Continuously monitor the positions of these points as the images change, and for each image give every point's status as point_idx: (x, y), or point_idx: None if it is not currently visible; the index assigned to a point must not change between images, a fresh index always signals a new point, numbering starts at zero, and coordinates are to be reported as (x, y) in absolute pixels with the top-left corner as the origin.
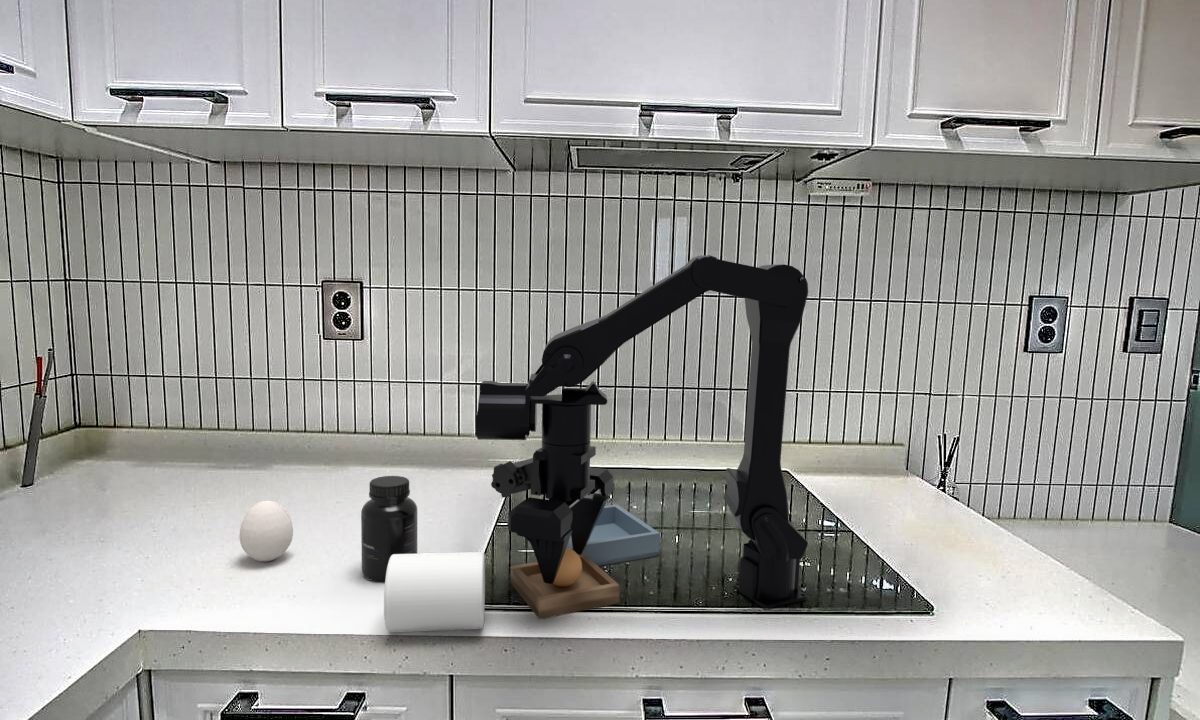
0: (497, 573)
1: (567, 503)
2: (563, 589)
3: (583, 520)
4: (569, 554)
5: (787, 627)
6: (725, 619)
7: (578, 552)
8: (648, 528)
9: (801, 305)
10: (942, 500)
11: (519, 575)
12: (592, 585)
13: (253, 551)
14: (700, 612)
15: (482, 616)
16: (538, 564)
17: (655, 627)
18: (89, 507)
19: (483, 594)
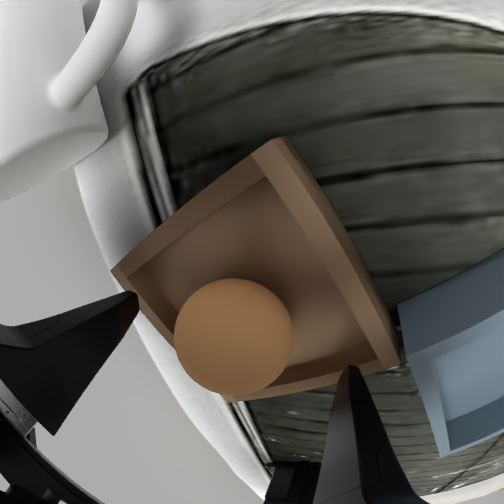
0: (353, 75)
1: (66, 502)
2: None
3: (332, 480)
4: (198, 383)
5: (236, 460)
6: (235, 441)
7: (342, 376)
8: (467, 445)
9: None
10: (462, 501)
11: (203, 194)
12: None
13: None
14: (244, 433)
15: (32, 187)
16: (80, 307)
17: (189, 393)
18: None
19: (22, 184)
